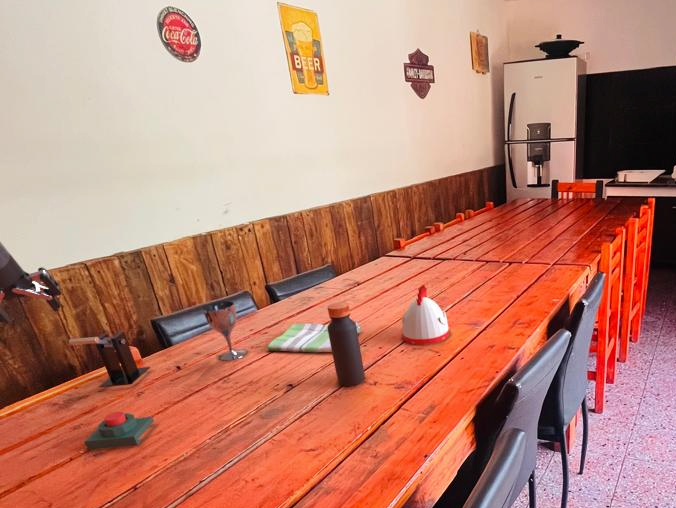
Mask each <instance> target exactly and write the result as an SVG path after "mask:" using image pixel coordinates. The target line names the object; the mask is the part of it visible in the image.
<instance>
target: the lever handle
mask: <svg viewBox="0 0 676 508" xmlns="http://www.w3.org/2000/svg"><path fill="white" fill-rule="evenodd" d="M98 337H99V336H94V337H93V336H91V337H79V338H70V339H69V340H68V343H69V345H70V346H80V345H91V344H92V345H96V344H104V347H107V348H114V346H113V344H112V341H111V338H112V337H113V336H112V337H110V336H109V338H103V340H99V338H98Z"/></svg>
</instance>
